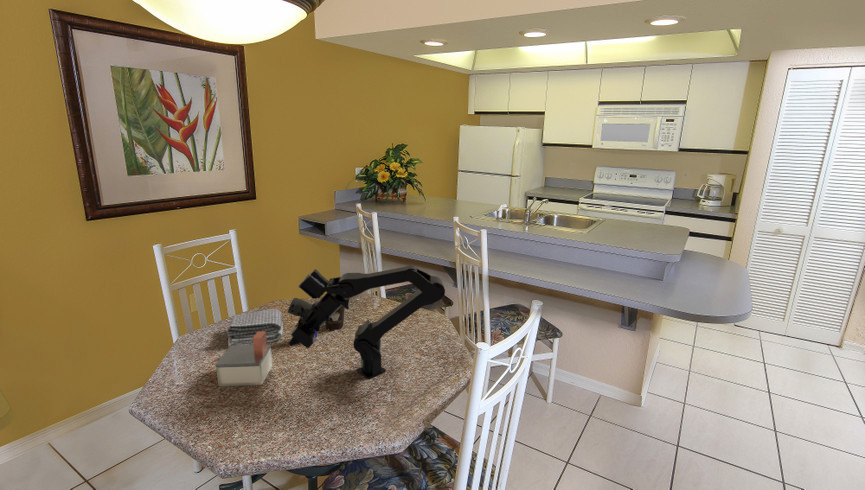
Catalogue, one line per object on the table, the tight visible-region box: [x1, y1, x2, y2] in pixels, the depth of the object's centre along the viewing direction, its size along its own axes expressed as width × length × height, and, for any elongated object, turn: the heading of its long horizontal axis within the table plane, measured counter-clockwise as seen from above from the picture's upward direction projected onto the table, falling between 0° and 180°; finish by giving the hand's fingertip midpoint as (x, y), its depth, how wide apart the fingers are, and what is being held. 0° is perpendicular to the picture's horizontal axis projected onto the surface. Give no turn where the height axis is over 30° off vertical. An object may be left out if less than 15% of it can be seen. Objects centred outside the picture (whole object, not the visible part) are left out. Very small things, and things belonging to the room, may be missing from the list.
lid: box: [215, 331, 272, 368], centre depth 126 cm, size 12×11×7 cm
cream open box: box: [215, 348, 273, 387], centre depth 127 cm, size 12×11×6 cm
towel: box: [226, 308, 284, 348], centre depth 153 cm, size 15×18×8 cm
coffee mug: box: [324, 306, 346, 331], centre depth 161 cm, size 12×9×10 cm
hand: (290, 344), depth 127 cm, fingers closed
